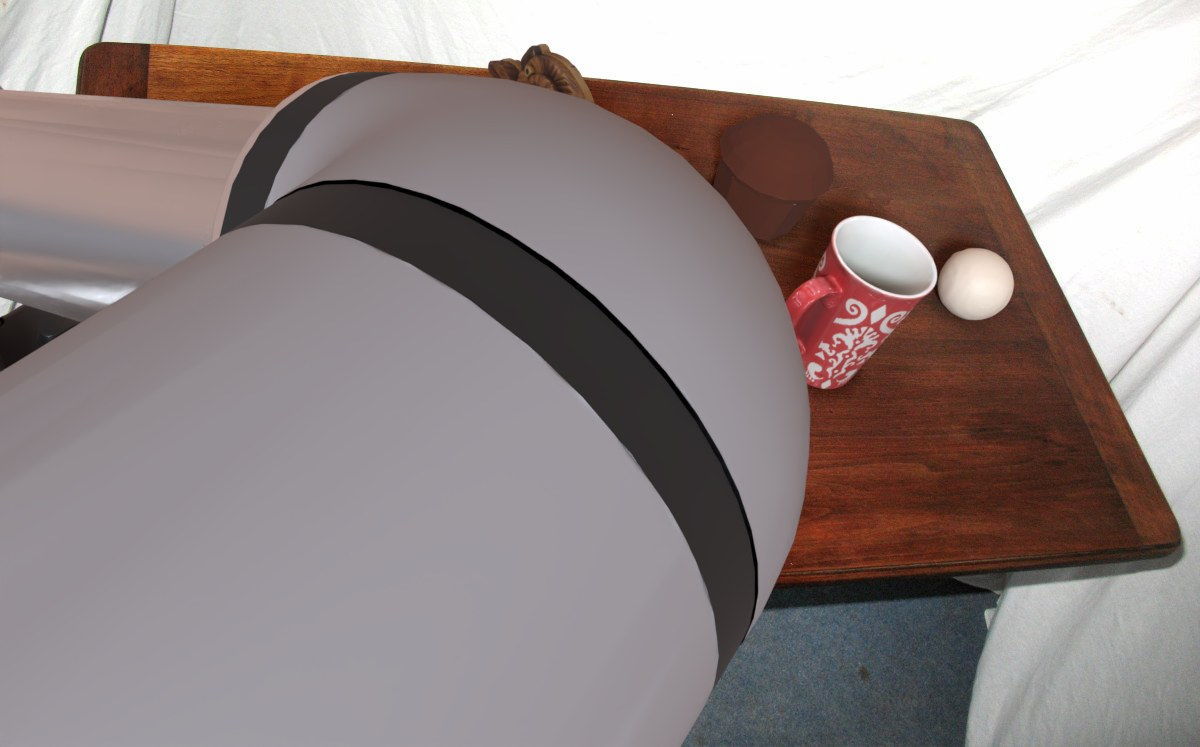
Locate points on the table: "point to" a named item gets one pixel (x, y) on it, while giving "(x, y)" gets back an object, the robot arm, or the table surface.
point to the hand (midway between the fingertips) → (364, 292)
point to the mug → (857, 296)
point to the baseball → (975, 284)
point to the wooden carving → (543, 72)
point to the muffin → (772, 172)
